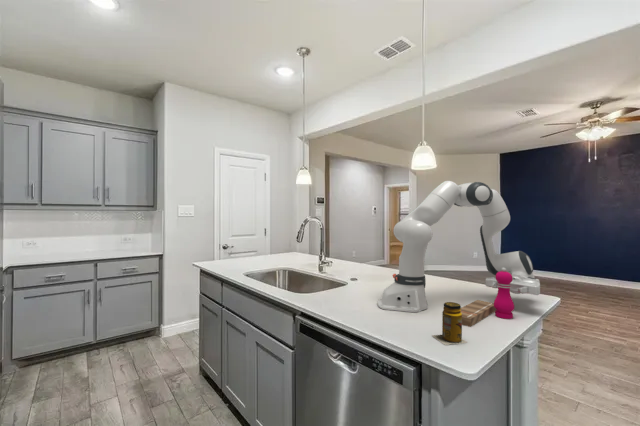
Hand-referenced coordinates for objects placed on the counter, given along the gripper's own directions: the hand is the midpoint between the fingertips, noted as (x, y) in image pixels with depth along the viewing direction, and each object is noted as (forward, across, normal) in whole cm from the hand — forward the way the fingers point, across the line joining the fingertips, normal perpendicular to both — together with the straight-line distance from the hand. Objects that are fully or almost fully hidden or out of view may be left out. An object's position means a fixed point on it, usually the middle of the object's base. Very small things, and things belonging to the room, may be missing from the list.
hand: (506, 288), depth 127 cm
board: (+12, -8, +11) cm, 18 cm away
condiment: (+42, -5, +11) cm, 44 cm away
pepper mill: (+4, 0, +11) cm, 12 cm away
